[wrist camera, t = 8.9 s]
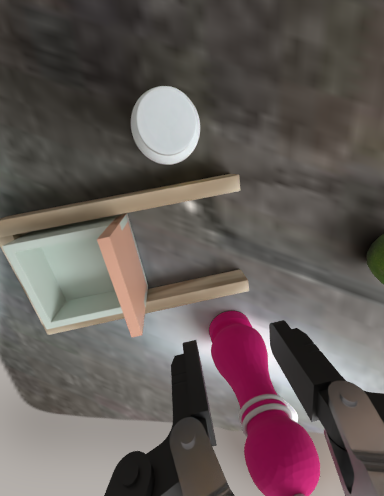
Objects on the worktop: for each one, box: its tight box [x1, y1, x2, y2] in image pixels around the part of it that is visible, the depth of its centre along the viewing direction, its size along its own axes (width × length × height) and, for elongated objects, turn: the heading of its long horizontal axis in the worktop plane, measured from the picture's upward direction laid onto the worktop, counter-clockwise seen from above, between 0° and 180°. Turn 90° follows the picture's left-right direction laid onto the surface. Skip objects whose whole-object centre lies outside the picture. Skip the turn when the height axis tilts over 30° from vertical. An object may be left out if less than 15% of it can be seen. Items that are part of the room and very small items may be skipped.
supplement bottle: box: [131, 86, 200, 165], centre depth 19 cm, size 5×5×10 cm
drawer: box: [2, 213, 148, 337], centre depth 23 cm, size 10×11×9 cm
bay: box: [0, 174, 249, 335], centre depth 26 cm, size 14×25×3 cm, turn 100°
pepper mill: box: [209, 311, 320, 496], centre depth 24 cm, size 7×7×20 cm
